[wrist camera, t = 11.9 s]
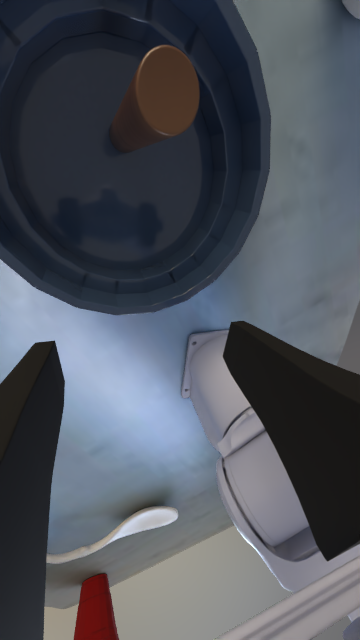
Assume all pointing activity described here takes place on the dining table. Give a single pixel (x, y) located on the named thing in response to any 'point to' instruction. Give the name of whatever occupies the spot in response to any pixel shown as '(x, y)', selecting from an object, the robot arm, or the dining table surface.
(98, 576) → the plastic cup
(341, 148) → the dining table surface
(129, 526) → the spoon
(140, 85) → the stirring stick
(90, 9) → the bowl
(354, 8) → the pill bottle
